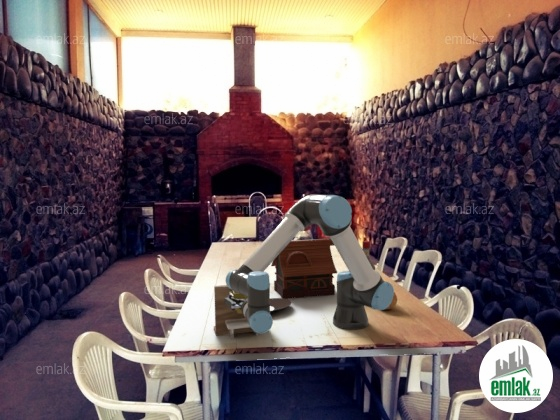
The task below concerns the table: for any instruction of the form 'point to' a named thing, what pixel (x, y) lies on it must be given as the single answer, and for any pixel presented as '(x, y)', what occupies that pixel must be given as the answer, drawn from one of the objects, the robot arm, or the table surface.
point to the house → (305, 269)
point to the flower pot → (239, 296)
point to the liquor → (367, 252)
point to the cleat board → (228, 315)
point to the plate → (279, 303)
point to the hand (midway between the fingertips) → (241, 294)
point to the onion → (392, 302)
